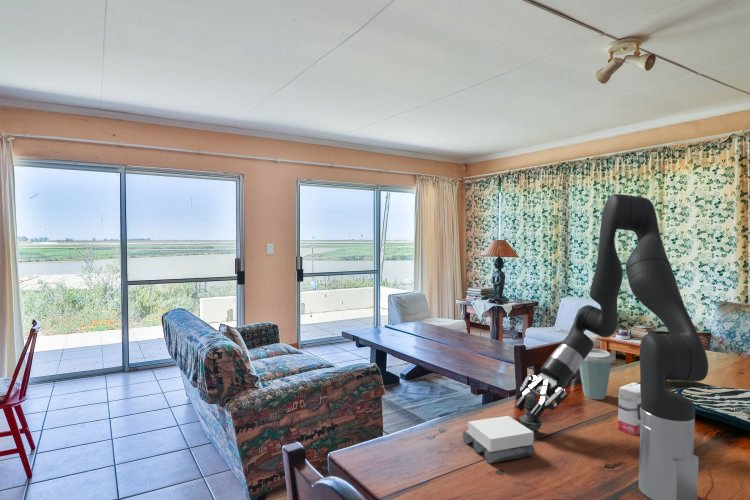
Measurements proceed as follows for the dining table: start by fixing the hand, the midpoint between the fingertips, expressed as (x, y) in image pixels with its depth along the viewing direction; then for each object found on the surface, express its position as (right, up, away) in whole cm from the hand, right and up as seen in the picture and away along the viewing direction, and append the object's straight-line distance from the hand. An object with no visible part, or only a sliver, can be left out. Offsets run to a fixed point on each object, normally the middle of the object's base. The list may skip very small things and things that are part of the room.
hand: (525, 412), depth 117 cm
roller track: (-10, -6, -9) cm, 15 cm away
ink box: (+31, -6, +4) cm, 32 cm away
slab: (-10, -3, -9) cm, 14 cm away
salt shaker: (+2, -6, +1) cm, 6 cm away
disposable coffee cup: (+33, -5, +28) cm, 43 cm away
